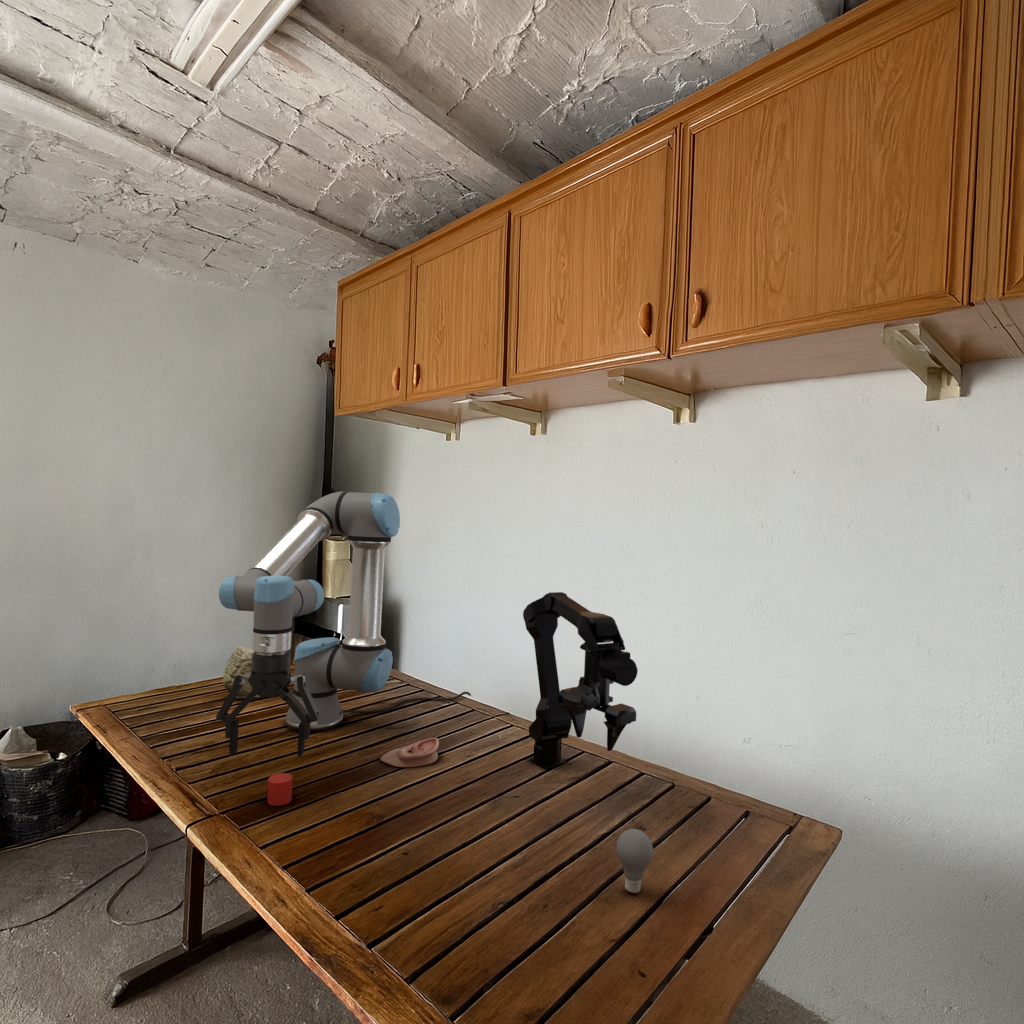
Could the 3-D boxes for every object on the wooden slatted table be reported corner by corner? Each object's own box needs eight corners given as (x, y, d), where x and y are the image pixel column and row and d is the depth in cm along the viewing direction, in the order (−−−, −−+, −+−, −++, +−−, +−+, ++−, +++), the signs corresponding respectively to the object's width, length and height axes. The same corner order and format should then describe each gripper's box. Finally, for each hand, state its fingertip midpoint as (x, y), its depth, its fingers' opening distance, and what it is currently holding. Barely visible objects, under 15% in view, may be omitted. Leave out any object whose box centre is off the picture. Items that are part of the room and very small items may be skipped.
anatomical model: (375, 747, 151) (394, 730, 162) (374, 764, 151) (393, 746, 162) (428, 754, 148) (443, 736, 159) (427, 771, 148) (443, 752, 159)
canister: (265, 806, 129) (266, 783, 129) (269, 795, 133) (270, 773, 133) (289, 805, 130) (290, 782, 130) (293, 794, 134) (293, 772, 134)
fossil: (218, 695, 195) (220, 647, 195) (278, 685, 208) (279, 640, 207) (228, 703, 189) (230, 653, 188) (289, 692, 201) (290, 645, 201)
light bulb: (610, 879, 108) (613, 822, 108) (644, 879, 109) (647, 822, 109) (619, 902, 102) (622, 840, 102) (655, 901, 103) (658, 840, 103)
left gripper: (201, 654, 126) (197, 760, 126) (329, 657, 128) (324, 761, 128) (216, 645, 133) (212, 745, 134) (336, 648, 135) (332, 747, 136)
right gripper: (541, 668, 142) (538, 737, 142) (603, 689, 127) (600, 766, 128) (576, 662, 149) (573, 728, 149) (639, 681, 134) (636, 754, 135)
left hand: (267, 754), depth 131 cm, fingers open, 13 cm apart
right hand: (594, 743), depth 140 cm, fingers open, 9 cm apart
